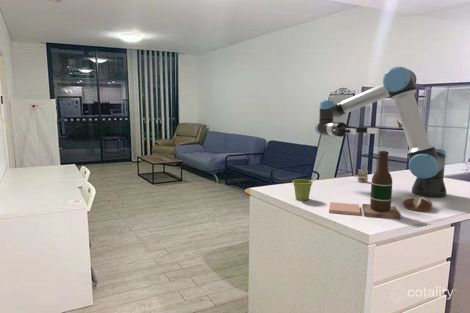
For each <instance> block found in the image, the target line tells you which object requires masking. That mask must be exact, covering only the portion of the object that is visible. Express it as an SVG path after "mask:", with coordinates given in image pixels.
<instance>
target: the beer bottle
mask: <svg viewBox="0 0 470 313" xmlns="http://www.w3.org/2000/svg"><path fill="white" fill-rule="evenodd" d="M389 154H390V153H389V151H387V150H380V151H378V160H377V161H378V162H377V169H376V171H375V172H374V174H373V175H372V178H371V184H370V185H371V187H370V201H369V204H370V208H371V209H373V210H374V211H380V212H388V211H389V210H390V208H391V206H392V195H393V194H392V192H393V178H392V175H391V173H390V172H389V166H388V165H389V159H388V158H389Z"/></svg>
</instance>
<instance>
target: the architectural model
mask: <svg viewBox="0 0 470 313" xmlns="http://www.w3.org/2000/svg"><path fill="white" fill-rule="evenodd" d="M357 170H358V171H357V175H354V178H357V182H363V183H368V179H369V178H368V177H369V175H368V173H369V170H367V169H366V170H365V169H357Z"/></svg>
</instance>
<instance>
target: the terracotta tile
mask: <svg viewBox="0 0 470 313" xmlns="http://www.w3.org/2000/svg"><path fill="white" fill-rule="evenodd" d="M328 213H329V214H342V215H353V216H361V209H360V204H357V203H346V202H335V201H334V202H333V201H330V202H329V209H328Z"/></svg>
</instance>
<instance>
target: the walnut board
mask: <svg viewBox="0 0 470 313" xmlns="http://www.w3.org/2000/svg"><path fill="white" fill-rule="evenodd" d="M361 208H362V212H363V216H364V217H370V218H381V219H393V220H401V214H400V212H399V211H398V209H397V207H396V205H395V206H393V205H391V208H390V210H389V211H388V212H380V211H374V210H373V209H371V208H370V203H362V206H361Z"/></svg>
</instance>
